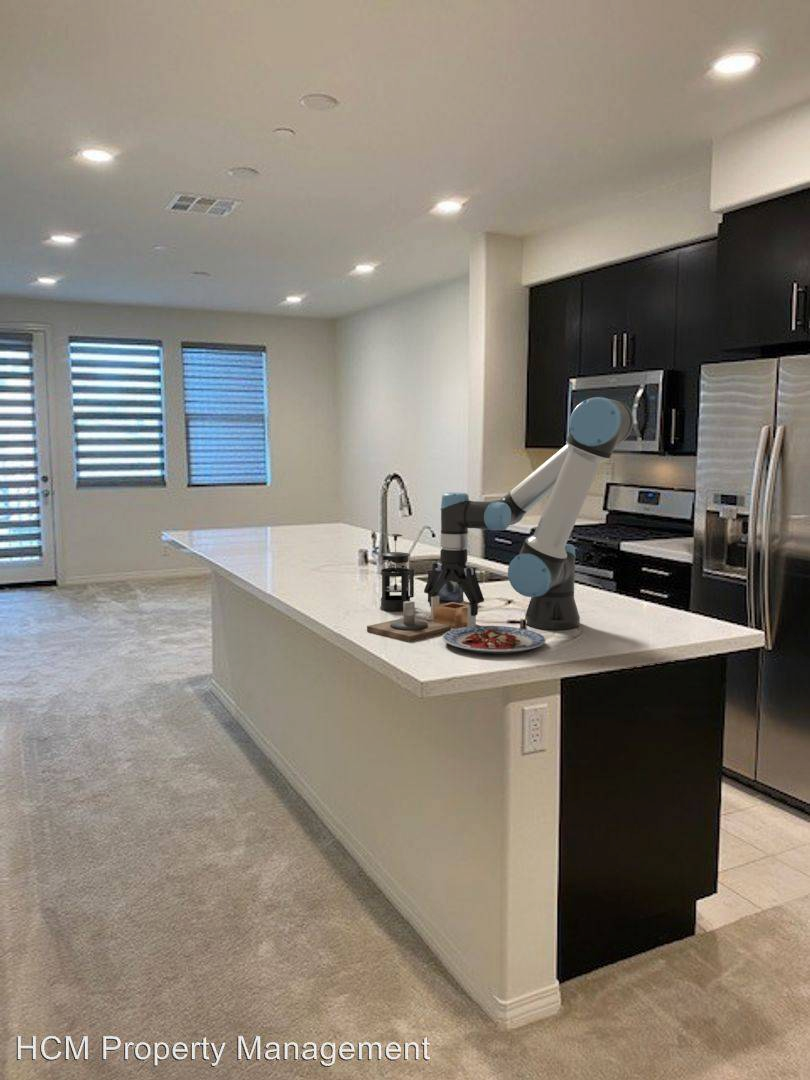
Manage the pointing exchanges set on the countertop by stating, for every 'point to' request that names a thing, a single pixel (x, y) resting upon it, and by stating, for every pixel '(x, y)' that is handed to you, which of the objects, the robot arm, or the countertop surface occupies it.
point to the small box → (448, 591)
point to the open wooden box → (451, 614)
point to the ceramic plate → (493, 639)
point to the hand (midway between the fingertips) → (452, 622)
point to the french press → (395, 601)
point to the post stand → (408, 626)
